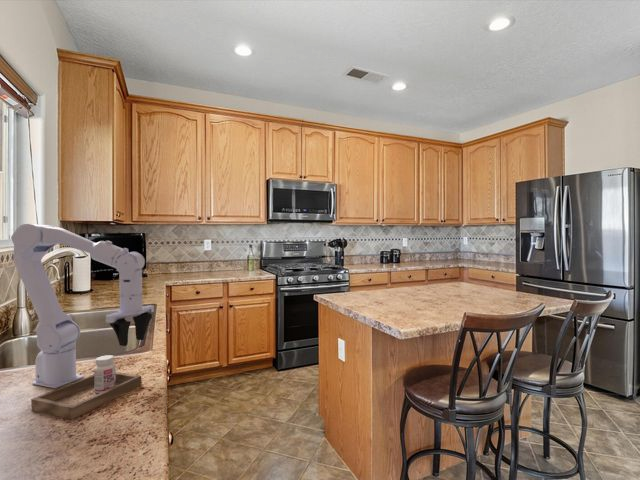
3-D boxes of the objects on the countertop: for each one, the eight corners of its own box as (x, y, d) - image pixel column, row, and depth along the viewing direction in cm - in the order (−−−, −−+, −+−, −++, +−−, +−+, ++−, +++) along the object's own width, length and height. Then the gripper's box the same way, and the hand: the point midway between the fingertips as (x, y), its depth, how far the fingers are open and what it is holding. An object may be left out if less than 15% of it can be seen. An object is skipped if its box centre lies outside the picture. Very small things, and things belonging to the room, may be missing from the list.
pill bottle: (105, 394, 89) (105, 361, 89) (89, 392, 90) (89, 360, 90) (120, 386, 94) (119, 355, 94) (104, 385, 95) (104, 354, 94)
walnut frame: (31, 409, 81) (31, 399, 81) (104, 379, 99) (104, 370, 99) (72, 419, 77) (72, 408, 77) (141, 385, 94) (141, 376, 94)
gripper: (119, 299, 91) (120, 351, 91) (161, 291, 105) (162, 336, 105) (99, 298, 94) (100, 349, 94) (143, 290, 107) (144, 334, 107)
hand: (132, 342), depth 100 cm, fingers open, 5 cm apart
